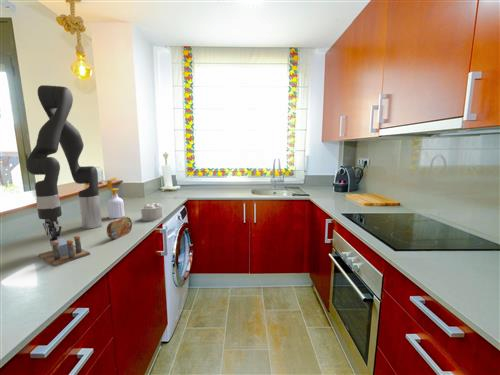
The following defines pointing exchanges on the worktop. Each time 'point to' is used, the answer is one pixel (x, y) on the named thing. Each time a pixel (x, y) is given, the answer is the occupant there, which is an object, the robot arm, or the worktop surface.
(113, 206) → the soap bottle
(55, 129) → the robot arm
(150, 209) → the lumpy-topped squat cylinder
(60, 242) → the rectangular block
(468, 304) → the worktop surface
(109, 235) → the tin
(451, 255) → the worktop surface
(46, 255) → the board
